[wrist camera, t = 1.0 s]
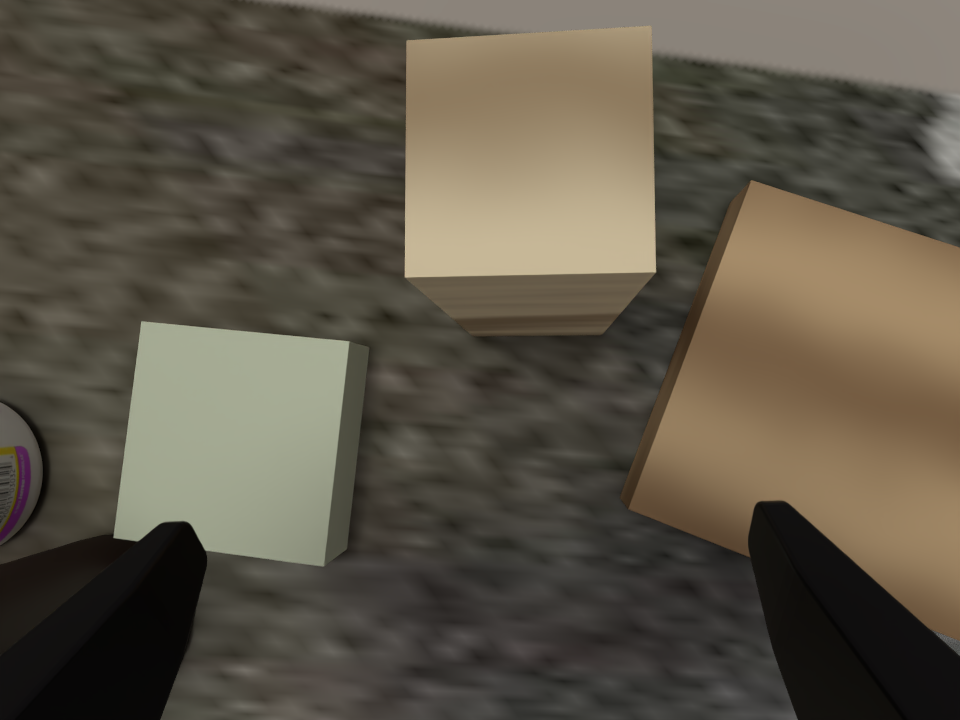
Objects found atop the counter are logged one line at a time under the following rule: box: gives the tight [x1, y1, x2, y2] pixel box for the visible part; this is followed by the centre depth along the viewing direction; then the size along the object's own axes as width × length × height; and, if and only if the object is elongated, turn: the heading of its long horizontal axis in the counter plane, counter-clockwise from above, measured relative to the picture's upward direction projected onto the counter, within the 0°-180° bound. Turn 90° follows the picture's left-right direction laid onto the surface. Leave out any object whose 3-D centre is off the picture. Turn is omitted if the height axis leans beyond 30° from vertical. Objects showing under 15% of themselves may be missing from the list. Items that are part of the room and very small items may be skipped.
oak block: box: [620, 180, 960, 641], centre depth 22 cm, size 12×12×3 cm
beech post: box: [405, 26, 656, 336], centre depth 19 cm, size 5×5×12 cm
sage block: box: [113, 322, 370, 567], centre depth 24 cm, size 8×8×3 cm
